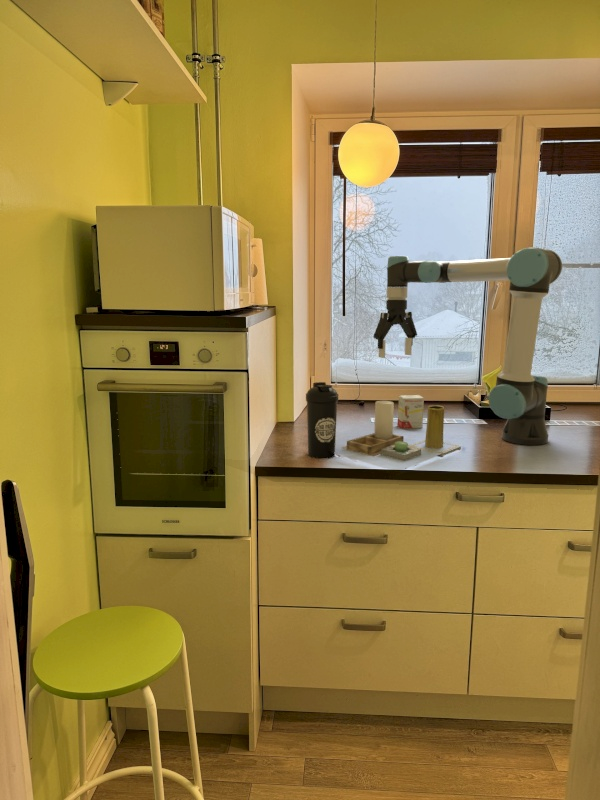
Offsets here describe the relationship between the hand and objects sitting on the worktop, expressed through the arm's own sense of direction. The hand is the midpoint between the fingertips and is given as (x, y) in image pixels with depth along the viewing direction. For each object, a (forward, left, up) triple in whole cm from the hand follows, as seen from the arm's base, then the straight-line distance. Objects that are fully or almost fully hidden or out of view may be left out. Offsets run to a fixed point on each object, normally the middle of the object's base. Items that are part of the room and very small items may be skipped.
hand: (395, 356), depth 221 cm
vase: (-29, +18, -27) cm, 43 cm away
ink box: (-6, -2, -27) cm, 28 cm away
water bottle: (-7, +49, -27) cm, 56 cm away
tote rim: (-29, +18, -27) cm, 43 cm away
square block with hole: (-27, +34, -27) cm, 51 cm away
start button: (-27, +34, -24) cm, 49 cm away
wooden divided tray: (-16, +32, -27) cm, 44 cm away
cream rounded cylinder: (-16, +27, -25) cm, 40 cm away
